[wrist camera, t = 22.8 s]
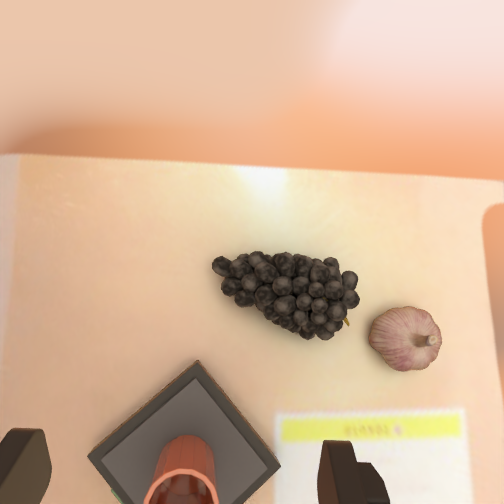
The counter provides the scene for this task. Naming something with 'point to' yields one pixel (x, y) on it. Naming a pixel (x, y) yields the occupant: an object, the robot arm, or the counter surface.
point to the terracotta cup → (184, 474)
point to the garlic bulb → (406, 338)
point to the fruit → (291, 290)
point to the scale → (185, 423)
